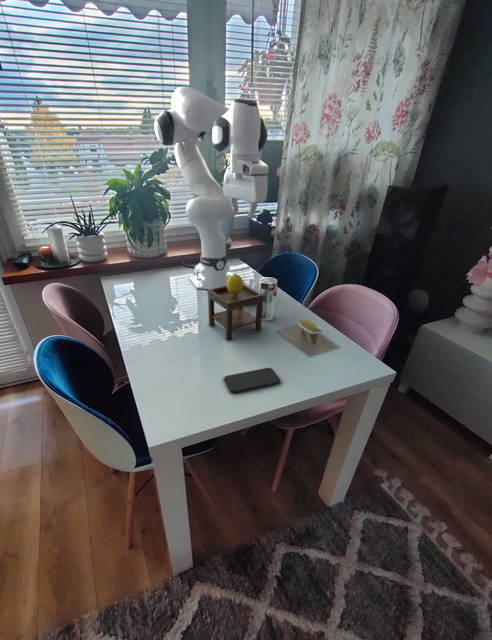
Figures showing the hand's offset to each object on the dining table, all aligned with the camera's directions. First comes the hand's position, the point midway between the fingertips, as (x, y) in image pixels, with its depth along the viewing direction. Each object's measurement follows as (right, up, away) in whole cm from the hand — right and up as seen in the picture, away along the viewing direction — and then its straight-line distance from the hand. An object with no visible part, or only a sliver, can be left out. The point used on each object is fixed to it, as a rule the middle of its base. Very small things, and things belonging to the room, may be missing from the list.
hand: (242, 214), depth 107 cm
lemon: (-2, -26, +6) cm, 27 cm away
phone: (+2, -54, -14) cm, 56 cm away
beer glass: (+10, -32, +20) cm, 39 cm away
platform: (+22, -41, +6) cm, 47 cm away
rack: (-2, -36, +13) cm, 38 cm away
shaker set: (+3, -25, +30) cm, 39 cm away
